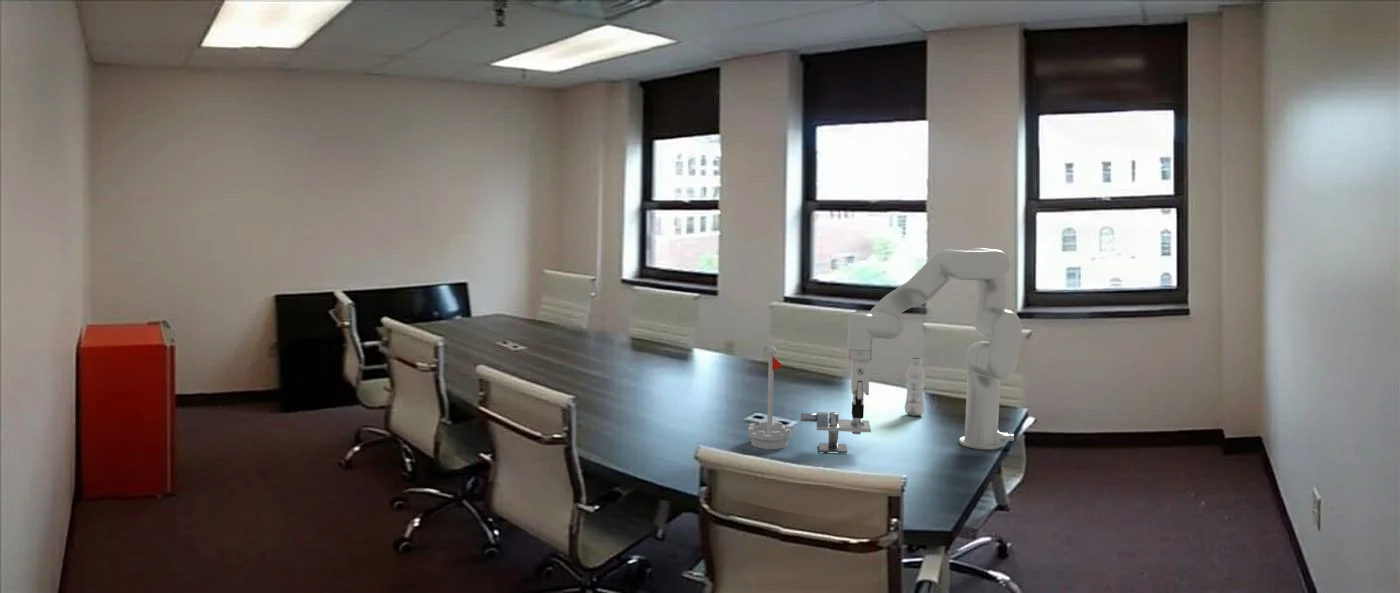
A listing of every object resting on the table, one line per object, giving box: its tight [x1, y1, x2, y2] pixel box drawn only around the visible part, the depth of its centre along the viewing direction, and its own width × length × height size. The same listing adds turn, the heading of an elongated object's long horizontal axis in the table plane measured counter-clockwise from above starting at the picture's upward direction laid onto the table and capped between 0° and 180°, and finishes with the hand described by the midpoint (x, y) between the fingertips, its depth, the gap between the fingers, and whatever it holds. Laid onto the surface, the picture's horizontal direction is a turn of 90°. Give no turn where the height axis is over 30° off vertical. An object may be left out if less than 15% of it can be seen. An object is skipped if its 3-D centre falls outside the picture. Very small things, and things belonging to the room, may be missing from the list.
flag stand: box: [747, 346, 792, 450], centre depth 268 cm, size 13×13×30 cm
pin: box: [851, 392, 862, 435], centre depth 263 cm, size 3×3×14 cm
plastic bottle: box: [904, 357, 926, 417], centre depth 307 cm, size 6×7×20 cm
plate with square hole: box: [800, 411, 872, 454], centre depth 264 cm, size 20×10×11 cm, turn 83°
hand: (857, 416), depth 263 cm, fingers closed on pin, 2 cm apart
